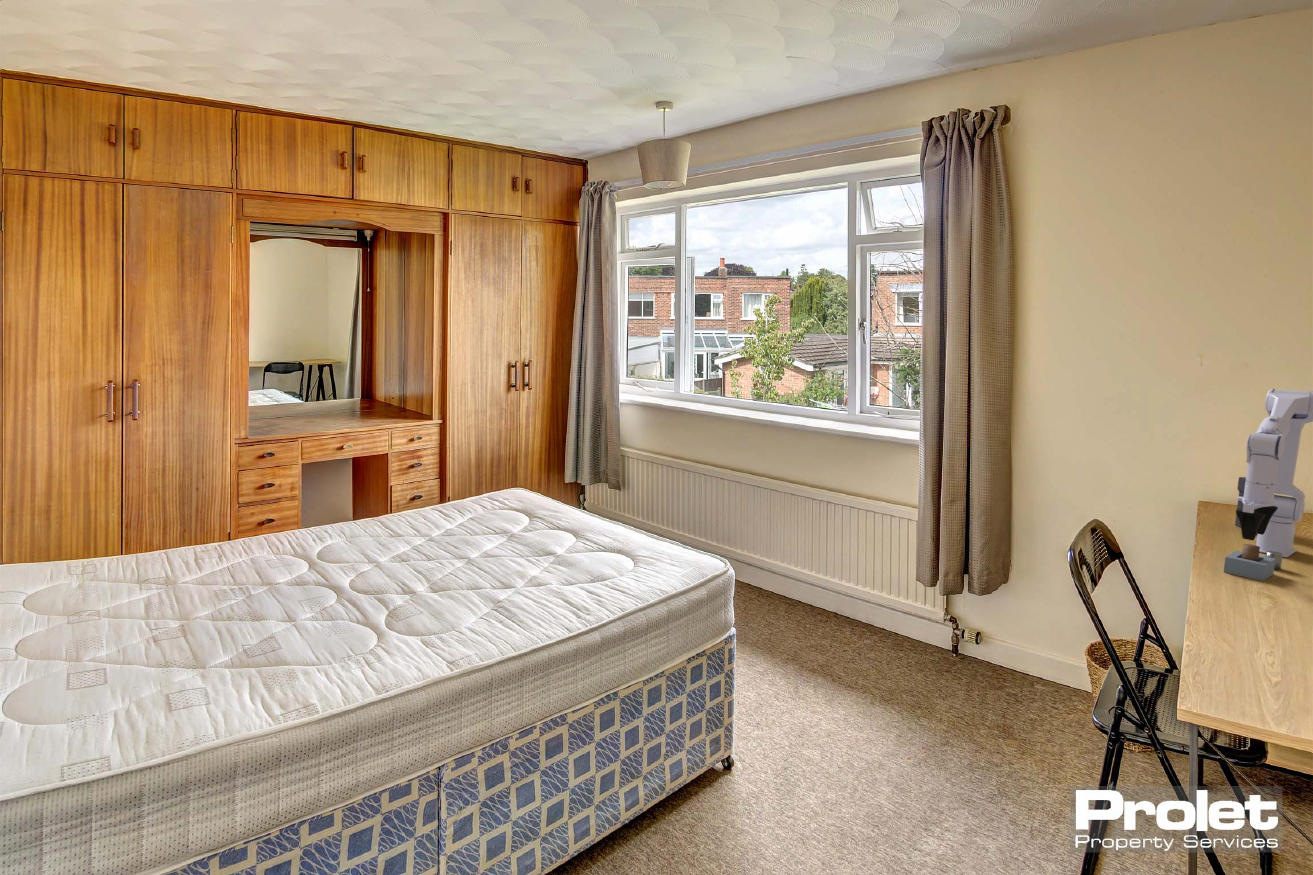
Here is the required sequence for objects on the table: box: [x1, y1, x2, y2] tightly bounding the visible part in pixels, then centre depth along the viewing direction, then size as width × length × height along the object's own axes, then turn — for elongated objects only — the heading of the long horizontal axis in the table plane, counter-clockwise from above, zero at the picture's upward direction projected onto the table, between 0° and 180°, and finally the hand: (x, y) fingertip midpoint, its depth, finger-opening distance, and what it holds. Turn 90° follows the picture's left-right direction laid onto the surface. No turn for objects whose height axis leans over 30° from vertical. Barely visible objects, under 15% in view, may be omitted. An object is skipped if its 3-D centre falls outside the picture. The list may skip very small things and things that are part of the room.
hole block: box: [1223, 550, 1275, 582], centre depth 185 cm, size 8×8×4 cm
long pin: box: [1241, 543, 1260, 562], centre depth 185 cm, size 3×3×7 cm
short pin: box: [1265, 551, 1284, 571], centre depth 189 cm, size 3×3×4 cm
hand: (1253, 536), depth 184 cm, fingers open, 7 cm apart
